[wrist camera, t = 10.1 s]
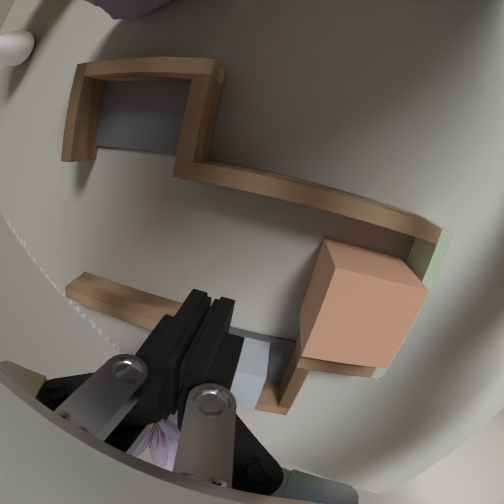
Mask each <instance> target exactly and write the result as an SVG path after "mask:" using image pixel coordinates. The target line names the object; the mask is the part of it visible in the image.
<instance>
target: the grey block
mask: <svg viewBox="0 0 504 504" xmlns="http://www.w3.org/2000/svg"><path fill="white" fill-rule="evenodd" d="M234 335H235V334H234ZM238 336H239V335H238ZM242 337H243V336H242ZM269 348H270V342H265V341H260V340H256V339H252V338H247V337H245V339H244V343H243V347H242V351H241V355H240V359H239V362H238V366H237V369H236V373H235V376H234V380H233V383H232V386H231V390H230V392H231V393H232V394H233V395H234V397H235V399H236V405H237V407H241V408H246V409H251V410H254V409H255V406H256V403H257V401H258V398H259V396H260V393H261V391H262V388H263V385H264V383H265V380H266V375H267V366H268V357H269Z"/></svg>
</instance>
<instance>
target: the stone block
mask: <svg viewBox="0 0 504 504" xmlns="http://www.w3.org/2000/svg"><path fill="white" fill-rule="evenodd" d="M85 1H87V2H89V3H91V4H93V5H95V6H99V7H101V8H102V9H104V10H105V12H107V13H108V14H109V15H110V16H111V17H112V19H114V20H116V19H127V20H133V19H135V18H138V17H141V16H143V15H145V14H147V13H149V12H151V11H152V10H154V9H156V8H158V7H160V6H162V5H165V4H167V3H168V2H170V1H171V0H85Z"/></svg>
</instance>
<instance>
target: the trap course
mask: <svg viewBox="0 0 504 504" xmlns="http://www.w3.org/2000/svg"><path fill="white" fill-rule="evenodd" d="M225 76H226V71H225V70H224V69H223V68H222V66H221V65H220V64H219V63H218V62H217V60H216V59H214V58H198V57H138V58H123V59H112V60H103V61H95V62H88V63H82V64H77V68H76V72H75V76H74V81H73V85H72V89H71V94H70V99H69V105H68V110H67V116H66V123H65V130H64V138H63V147H62V157H61V161H64V162H75V161H81V160H88V159H95V158H96V151H97V146H96V139H97V132H98V125H99V119H100V113H101V108H102V103H103V98H104V93H105V88H106V84H107V82H113V81H176V82H191V86H190V90H189V95H188V99H187V104H186V108H185V113H184V118H183V123H182V128H181V133H180V139H179V144H178V150H177V156H176V162H175V168H174V175H173V177H177V178H183V179H188V180H194V181H199V182H204V183H209V184H214V185H219V186H224V187H229V188H234V189H238V190H243V191H248V192H252V193H257V194H261V195H265V196H270V197H274V198H278V199H282V200H287V201H291V202H295V203H299V204H303V205H307V206H311V207H314V208H318V209H322V210H326V211H330V212H333V213H337V214H341V215H344V216H348V217H351V218H355V219H358V220H362V221H365V222H369V223H372V224H375V225H379V226H382V227H385V228H389V229H392V230H395V231H398V232H401V233H405V234H408V235H411V236H414V237H417V238H420V239H423V240H426V241H429V242H432V243H435V244H437V243H438V240H439V237H440V235H441V232H442V229H441V228H440V227H438V226H437V225H435V224H433V223H432V222H430V221H428V220H427V219H425V218H423V217H421V216H418V215H416V214H413V213H410V212H407V211H404V210H401V209H398V208H396V207H393V206H390V205H387V204H384V203H380V202H377V201H374V200H371V199H368V198H365V197H361V196H358V195H355V194H351V193H348V192H345V191H341V190H338V189H334V188H331V187H327V186H323V185H320V184H316V183H312V182H308V181H304V180H300V179H296V178H292V177H288V176H284V175H280V174H275V173H271V172H267V171H262V170H258V169H253V168H248V167H243V166H238V165H233V164H228V163H223V162H218V161H212V160H208V155H209V150H210V144H211V139H212V134H213V129H214V125H215V120H216V115H217V111H218V106H219V101H220V97H221V93H222V88H223V84H224V80H225ZM65 291H66V297H67V298H69V299H72V300H74V301H76V302H78V303H81V304H83V305H86V306H88V307H90V308H93V309H95V310H98V311H100V312H103V313H105V314H108V315H111V316H113V317H116V318H118V319H121V320H124V321H127V322H129V323H132V324H135V325H138V326H141V327H144V328H146V329H149V330H152V331H153V330H154V328H155V327H156V325H157V324H158V323H159V321H160V320H161V319H162V317H163V316H164V315H166V314H168V315H171V316H175V314H176V313H177V311H178V310H179V309H180V307H181V306H182V304H183V303H179V302H176V301H172V300H169V299H166V298H162V297H159V296H156V295H152V294H149V293H146V292H143V291H139V290H136V289H133V288H130V287H127V286H124V285H121V284H118V283H115V282H112V281H109V280H106V279H103V278H100V277H97V276H95V275H92V274H89V273H86V272H84V273H83V274H82V275H80V276H79V277H78V278H76V279H75V280H74V281H72V282H71V283H70V284H68V285H67V286H66V287H65ZM309 370H316V371H323V372H330V373H337V374H344V375H352V376H361V377H371V376H372V374H373V373H374V371H375V370H376V367H369V366H361V365H353V364H346V363H339V362H333V361H326V360H320V359H314V358H309V357H303V356H301V338H300V333H299V335H298V338H297V340H296V345H295V347H294V350H293V352H292V355H291V357H290V360H289V362H288V364H287V367H286V369H285V372H284V374H283V376H282V379H281V381H280V383H275V382H270V381H265V383H264V385H263V388H262V391H261V393H260V396H259V398H258V401H257V403H256V406H255V410H260V411H265V412H271V413H277V414H283V415H286V414H287V413H288V411H289V409H290V407H291V405H292V403H293V402H294V400H295V398H296V396H297V394H298V392H299V390H300V388H301V386H302V384H303V382H304V380H305V378H306V376H307V374H308V372H309Z"/></svg>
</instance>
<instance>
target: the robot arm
mask: <svg viewBox="0 0 504 504" xmlns="http://www.w3.org/2000/svg"><path fill="white" fill-rule="evenodd" d="M234 304H235V300H232V299H228V298H225V297H221V298H220V300H218V299H214V301H213V303H212V305H211V297H207V292H203V291H200V290H196V289H193V290H192V291H191V293H190V294H189V296H188V297H187V298H186V300H185V301H184V303H183V304H182V306H181V307H180V309H179V310H178V311H177V313H176V314H175V316H171V315H168V314H166V315H164V316H163V317H162V319H161V320H160V321H159V323H158V324H157V325H156V327H155V328H154V330H153V331H152V332H151V334H150V335H149V336H148V338H147V339H146V341H145V342H144V343H143V345H142V346H141V348H140V349H139V350H138V352H137V353H136V355H135V356H134V355H129V354H119V355H116V356H113V357H112V358H111V359H109V360H108V361H107V362H106V363H105V364H103V365H102V366H101V367H100V368H99V369H98V370H97V371H96V372H94V373H88V374H82V375H75V376H69V377H62V378H55V379H51V380H47V378H46V376H43V375H41V374H38V373H36V372H33V371H31V370H29V369H26V368H24V367H22V366H19V365H17V364H15V363H13V362H10V361H2V362H0V504H358V499H359V496H358V494H357V492H356V490H355V489H354V488H353V487H352V486H349V485H347V484H344V483H340V482H336V481H332V480H328V479H324V478H320V477H317V476H313V475H310V474H307V473H303V472H300V471H297V470H292V471H290V470H287V469H284V468H281V467H280V465H279V464H278V462H277V461H276V460H275V459H274V458H273V457H272V456H271V455H270V454H269V452H268V451H267V450H266V449H265V448H264V447H263V446H262V444H261V443H260V442H259V441H258V440H257V439H256V437H255V436H254V435H253V434H252V433H251V431H250V430H249V429H248V428H247V427H246V425H245V424H244V423H243V422H242V420H241V419H240V418H239V417H238V415H237V414H236V406H237V405H236V399H235V397H234V395H233V394H232V393H231V392H230V390H231V386H232V383H233V380H234V376H235V373H236V369H237V366H238V362H239V359H240V355H241V351H242V347H243V343H244V339H245V337H242V336H238V335H234V334H231V333H229V328H230V323H231V318H232V314H233V309H234ZM210 306H211V307H210ZM177 409H178V414H177V428H178V429H179V431H180V436H179V441H178V446H177V451H176V456H175V461H174V466H173V472H172V471H169V470H166V469H163V468H161V467H158V466H156V465H153V464H151V463H148V462H145V461H143V460H141V459H138V458H136V457H134V456H132V453H133V452H134V451H135V449H136V448H137V447H138V445H139V444H140V443H141V441H142V440H143V439H144V437H145V436H146V435H147V433H148V432H149V431H150V429H151V427H152V425H153V423H156V422H160V421H161V419H164V420H167V419H168V417H169V415H170V414H172V415H175V414H176V412H177Z"/></svg>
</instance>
